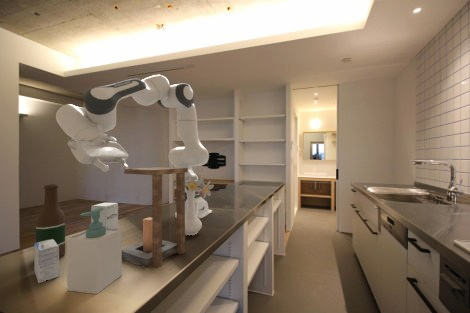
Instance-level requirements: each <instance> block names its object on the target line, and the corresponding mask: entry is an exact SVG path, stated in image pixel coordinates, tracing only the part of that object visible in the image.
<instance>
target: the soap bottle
mask: <svg viewBox="0 0 470 313" xmlns="http://www.w3.org/2000/svg"><path fill="white" fill-rule="evenodd" d="M102 210H103V208H98V209H96V210H93V211H91V210H90V211H87V212H83V213H80V214H79V217H86V216H90V217H91V216H92V219H93V223H91V222H90V223H89V225H88V226H89V228H87V229H85V231H83V232H81V233H77V234H75V235H73V236H70V237H68V238H67V239H66V265H67V266H66V291H70V292H77V293H83V294H86V293H87V294H93V295H99V293H101V291H103V290H104V289H106V288H107V287H108V286H110V285H111V284H112V283H114V282H115V281H116V280H118V279H119V278H120V277H121V276H122V275H123V274H122V273H123V272H122V267H123V266H122V263H123V259H122V250H123V249H122V248H123V247H122V245H123V244H122V240H123V239H122V232H123V230H122V228H118V229H111V228H106V227H105V226H103V223H102V222H99V218H100V211H102Z"/></svg>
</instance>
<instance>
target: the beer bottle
mask: <svg viewBox="0 0 470 313" xmlns="http://www.w3.org/2000/svg"><path fill="white" fill-rule="evenodd" d="M43 187H44V188H43V190H44V199H43V201H44V203H43V209H42V211H41V212H40V213H39V214H38V217H37V219H36V223H35V243H38V242H42V241H46V240H51V239H54V241H55V242H56V243H57V245H58V246H59V260H60V259H61V258H63V257H65V256H66V217H65V216H66V215H65V213H64V211H63V210H62V209H61V208H60V205H59V195H58V188H59V185H58V184H57V183H50V184H45V185H44V186H43Z"/></svg>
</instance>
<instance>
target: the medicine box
mask: <svg viewBox="0 0 470 313" xmlns="http://www.w3.org/2000/svg"><path fill="white" fill-rule="evenodd" d="M33 249H34V250H33V254H34V256H33V257H34V258H33V259H34V262H33V263H34V266H33V267H34V268H33V269H34V275H35V277H36V279H37V284H40V283H44V282H47V281H46V280H48V281H50V280H54V279H55V278H59V277H60V259H59V246H58V245H57V243H56V242H55V241H54V239H51V240H46V241H42V242H38V243H36V242H35V243H34V248H33Z"/></svg>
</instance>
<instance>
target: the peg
mask: <svg viewBox="0 0 470 313" xmlns="http://www.w3.org/2000/svg"><path fill="white" fill-rule="evenodd" d="M142 242H143V252H146V253H151V252H152V217H146V218H143V219H142Z"/></svg>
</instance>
